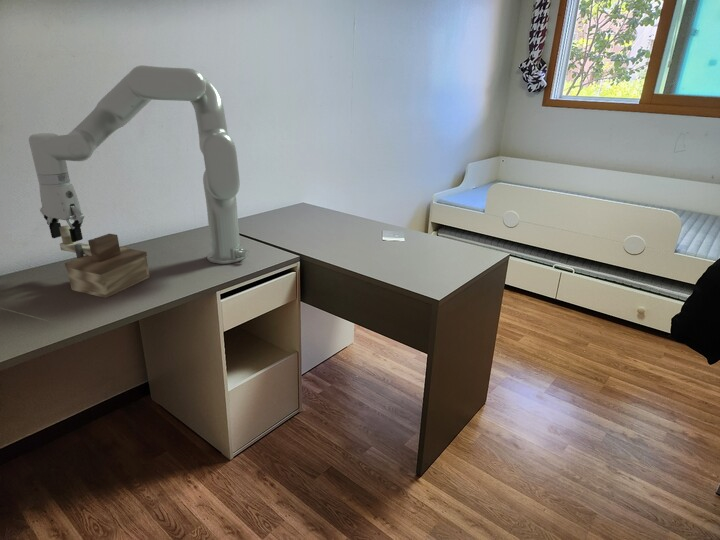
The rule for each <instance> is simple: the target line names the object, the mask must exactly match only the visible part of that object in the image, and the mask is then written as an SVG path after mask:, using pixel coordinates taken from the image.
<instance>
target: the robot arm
mask: <svg viewBox="0 0 720 540" xmlns="http://www.w3.org/2000/svg"><path fill="white" fill-rule="evenodd" d="M152 100H157V101H174V102H175V101H179V102H181V101H182V102H183V101H184V102H185V101H186V102H190V104H191V105H192V107H193V109H194V112H195V113H194V114H195V120H196V124H197V131H198V132H197V133H198V140H199V149H200V151H201V153H202V155H203V161H204V166H205V171H204V172H203V177H202V182H203V183H202V184H203V189H204V196H205V203H206V204H205V205H206V212H207V223H208V233H209V241H210V242H209V244H210V252H208V253H207V255H206V258H207V260H208V261H209V263H210V262H211V263H214V264H219V265H220V264H223V265H224V264H233V263H238V262H240V261H242V260H244V259H245V258H248V257H249V253H250V250H249V249H246V248H245V249H244V247H243V246H244V245H243V244H241V242H240V229H239V227H240V226H239V218H238V205H237V204H238V203H237V196H236V195H237V194H238V192H239V190H240V173H239V164H238V155H237V148H236V146H235V142H234V141H233V139H232V137H231V136H229V132H228V127H227V121H226V120H227V119H226V115H225V109H224V103H223V100H222V98H221V95H220V94H219V92H218V90H217V89H216V87H214V85H213V84H212V83H211V81H210V80H208V79H207V78H205V77H204V76H203V75H202V74H201V73H200V72H199V71H197V70H195V69H194V68H188V67H186V68H185V67H183V68H182V67H166V66H164V67H162V66H152V65H138V66H135V67H133V68H132V69H131V71H129V72H127V74H126V75H125V76H124V77H123V78H122V79H121V80H120V81H119V82H118V83H117V84H116V85H114V86H113V88H112V89H110V90H109V91H108V92H107V93H106V94H105V95H104V96H103V97H102V98H101V99H100V100H99V101H98V102H97V104H96V105H95V107H94V109H92V110H91V112H90V113H88V115H87V116H86V117H85V118H84V119H83V120H82V121H81V122H80V123H79V124H77V125H76V127H74V128H73V129H72V130H71V131H70V132H69V133H67V134H61V135H59V134H56V133H53V132H52V133H51V132H49V133H47V132H45V133H44V132H43V133H35V134H34V133H33V134H30V136H29V137H28V143H29V147H30V152H31V156H32V160H33V163H34V168H35V173H36V177H37V181H38V185H39V186H38V187H39V196H40V202H41V207H40V209H39V211H40V213H41V214H42V216H43V218H44V220H45V221H46V224H47V225H48V227H49V231H50V235H51V238H52V239H56V238H60V237H61V233H60V229H59V227H61V226H62V225H61V222H59V220H61V221H66V223H67V226H70V228H71V229H69V231H70V236H71V240H72V242H79V241H83V237H84V236H83V234H82V229H81V227H82V224H83V221H84V218H85V215H84V214H83V212H82V209H81V205H80V201H79V198H78V195H77V193H76V189H75V187H74V186H73V183H71V179H70V175H69V170H68V166H67V161H69V162H84V161H87V160H88V159H90V158H91V157H92V155H93V154H94V152H95V151H96V150H97V148H98V147H100V146H101V145H102V144H103V143H104V142H105V141H106V140H107V139H108V138H109V137H110V136H111V135H112V134H114V133H115V132H116V131H117V130H119V129H120V128H123V127H125V125H127V124H128V123H129V122H130V121H132V119H133V118H135V117H136V115H137V114H139V113H140V112H141V111H142V109H143V108H145V107H146V105H148V104H149V103H150V102H151V101H152Z"/></svg>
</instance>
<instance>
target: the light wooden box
mask: <svg viewBox="0 0 720 540" xmlns="http://www.w3.org/2000/svg"><path fill="white" fill-rule="evenodd" d="M89 240H90V239H88V240H87V242H88V243H89ZM74 247H75V251H76V253H75V254H76V259H78V258H81V257H83V256H85V255H84V254H83V250H82V246H81V245H80V244H76V245H74ZM66 271H67V276H68V280H69V285H70V288H71V291H75V292H79V293H82V294H87V295H90V296H91V295H93V296H96V297H101V298H104V299H107V298H109V297H111V296H113V295H116V294H117V293H120V292H123V290H126V289H128V288H130V287H132V286H134V285H136V284H139V283H141V282H143V281H145V280H147V279H150V271H149V264H148V259H147V256H145V257H143V258H140V259H138V260H135V261H133V262H131V263H128V264H126V265H123V266H121V267H119V268H116V269H114V270H112V271H109V272H107V273H104V274H102V275H99V274H94V273H89V272H85V271H80V270H76V269H71V268H66Z"/></svg>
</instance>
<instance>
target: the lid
mask: <svg viewBox="0 0 720 540" xmlns="http://www.w3.org/2000/svg"><path fill="white" fill-rule="evenodd" d="M88 240H89V242H88V245H90V250H91V255H92V256H89V255H84V256H83V257H81V258H78V259H77V258H76V259H73V260H70V261H67V262H65V263H64V267H65V268H66V269H67V268H71V269H76V270H80V271H85V272H89V273H94V274H99V275H102V274H104V273H107V272H109V271H112V270H114V269H116V268H119V267H121V266H123V265H126V264H128V263H131V262H133V261H135V260H138V259H140V258H143V257H145V256H146V257H147V256H148V253H147V252H148V251H145V250H138V249H134V248H129V247H128V248H127V247H122V246H120V243H119V237H118V234H115V233H105V234H104V235H101V236H98V237H95V238H92V239H88Z"/></svg>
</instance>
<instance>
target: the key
mask: <svg viewBox="0 0 720 540" xmlns="http://www.w3.org/2000/svg"><path fill="white" fill-rule="evenodd" d="M59 229H60V233H61V236H60V237H61V241H62V242H61V243H59V246H60V250H61V251H64V252H70V253H73V254H76V251H75V247H74V245H76V244H80V245H81V246H82V250H83V255H84V256H86V255H89V256H92V255H91V250H90V245H89V244H87V243H86V244H85V243H82V242H78V241H76V242H72V240H71V236H70V231H69V229H71V228H70V226H69V225H61V227H59Z"/></svg>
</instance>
